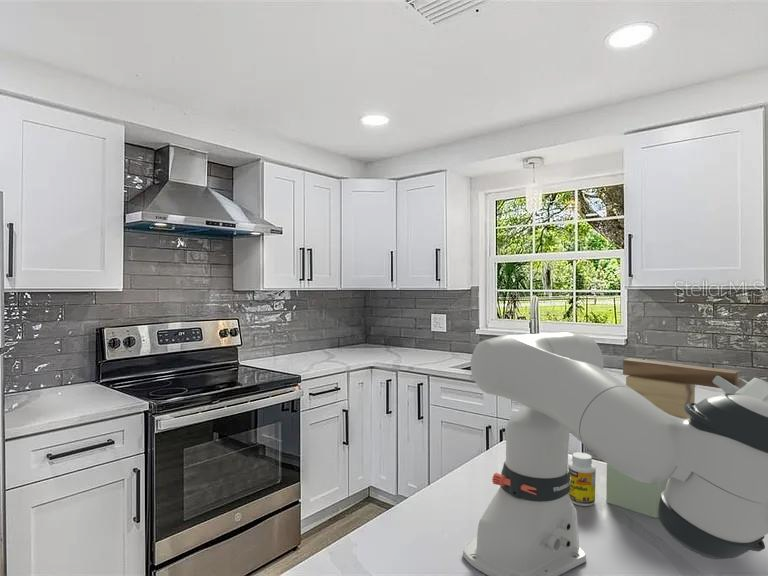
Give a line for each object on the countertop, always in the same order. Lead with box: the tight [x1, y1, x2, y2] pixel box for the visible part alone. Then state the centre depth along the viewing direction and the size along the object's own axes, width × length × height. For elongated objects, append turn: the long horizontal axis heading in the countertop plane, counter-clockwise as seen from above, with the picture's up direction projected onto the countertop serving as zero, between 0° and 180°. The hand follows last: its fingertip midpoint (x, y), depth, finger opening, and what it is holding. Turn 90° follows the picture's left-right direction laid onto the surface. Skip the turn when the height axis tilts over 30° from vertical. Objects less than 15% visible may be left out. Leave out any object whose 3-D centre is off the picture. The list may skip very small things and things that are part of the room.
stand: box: [625, 375, 696, 481], centre depth 114 cm, size 8×12×26 cm, turn 44°
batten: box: [622, 357, 740, 389], centre depth 111 cm, size 4×22×4 cm, turn 44°
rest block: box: [605, 463, 667, 519], centre depth 107 cm, size 7×10×19 cm
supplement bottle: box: [568, 452, 597, 507], centre depth 109 cm, size 6×6×10 cm
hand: (718, 375), depth 106 cm, fingers open, 4 cm apart
